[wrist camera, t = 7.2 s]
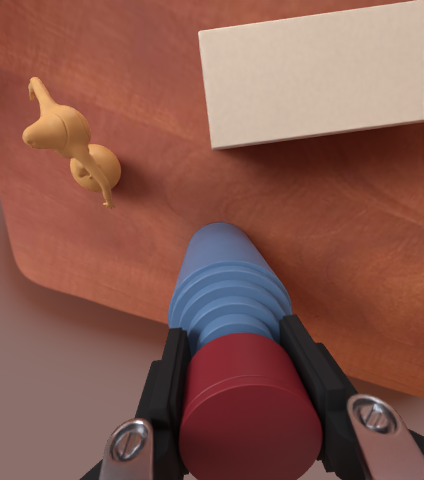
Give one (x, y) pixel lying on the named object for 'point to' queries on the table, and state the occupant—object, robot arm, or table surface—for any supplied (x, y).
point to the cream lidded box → (314, 75)
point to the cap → (246, 413)
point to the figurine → (72, 143)
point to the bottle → (226, 289)
